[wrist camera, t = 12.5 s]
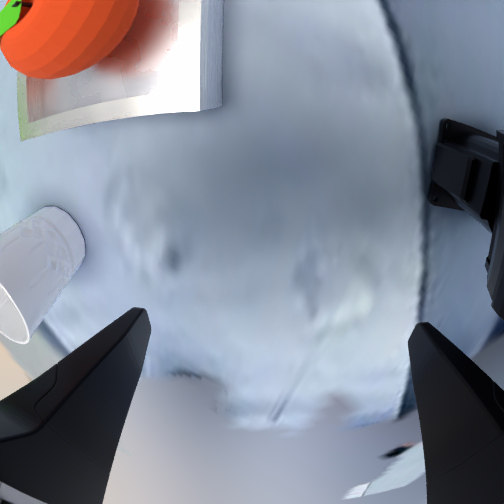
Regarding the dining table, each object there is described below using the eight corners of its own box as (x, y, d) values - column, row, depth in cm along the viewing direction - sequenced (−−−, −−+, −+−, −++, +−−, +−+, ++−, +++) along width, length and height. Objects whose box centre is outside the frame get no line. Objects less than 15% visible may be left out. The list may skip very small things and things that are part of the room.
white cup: (23, 230, 22) (-38, 287, 13) (50, 181, 19) (-33, 238, 11) (70, 284, 25) (19, 353, 16) (105, 247, 22) (40, 327, 13)
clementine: (59, 105, 12) (-32, 130, 6) (43, 20, 9) (-39, 18, 3) (174, 44, 11) (94, 15, 5) (150, -46, 7) (83, -96, 1)
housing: (226, -48, 10) (208, -87, 5) (221, 106, 16) (199, 110, 11) (74, -9, 10) (29, -20, 6) (70, 125, 17) (21, 141, 12)
